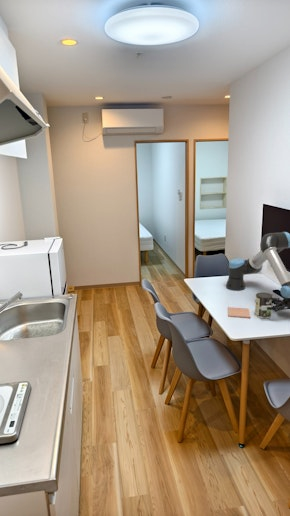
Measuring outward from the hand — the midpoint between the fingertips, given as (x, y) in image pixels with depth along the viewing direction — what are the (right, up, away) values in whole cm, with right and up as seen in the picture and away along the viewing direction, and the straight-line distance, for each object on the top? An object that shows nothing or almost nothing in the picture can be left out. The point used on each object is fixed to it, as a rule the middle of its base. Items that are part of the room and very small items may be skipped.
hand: (258, 304), depth 226 cm
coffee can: (+4, -8, +2) cm, 9 cm away
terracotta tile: (-11, -7, +5) cm, 14 cm away
